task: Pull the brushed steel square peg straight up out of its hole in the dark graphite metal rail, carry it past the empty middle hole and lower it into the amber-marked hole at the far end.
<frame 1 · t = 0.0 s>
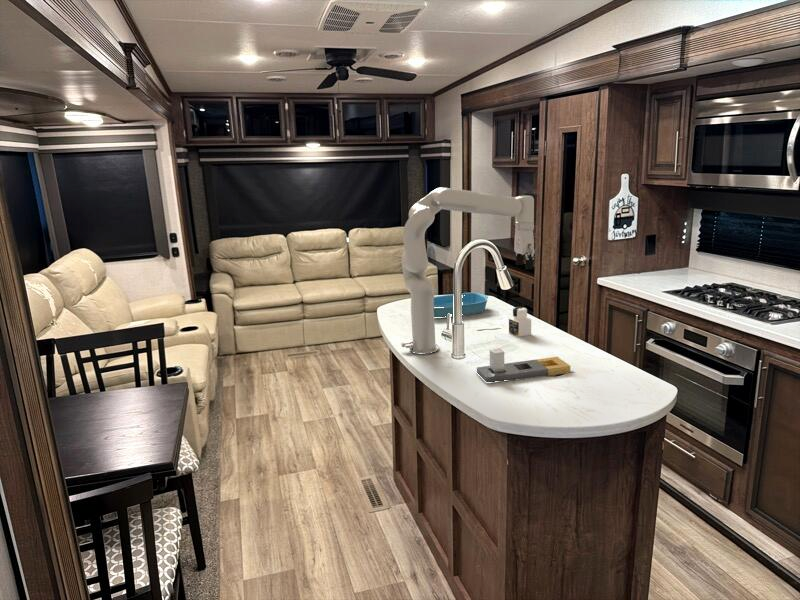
hand: (524, 266, 230), 31 cm above the worktop, tool pointing down, fingers open, 9 cm apart
casserole dish: (453, 312, 282), on the worktop
rail: (523, 373, 199), on the worktop
steel peg: (497, 376, 197), resting in rail
medicine bottle: (520, 334, 242), on the worktop
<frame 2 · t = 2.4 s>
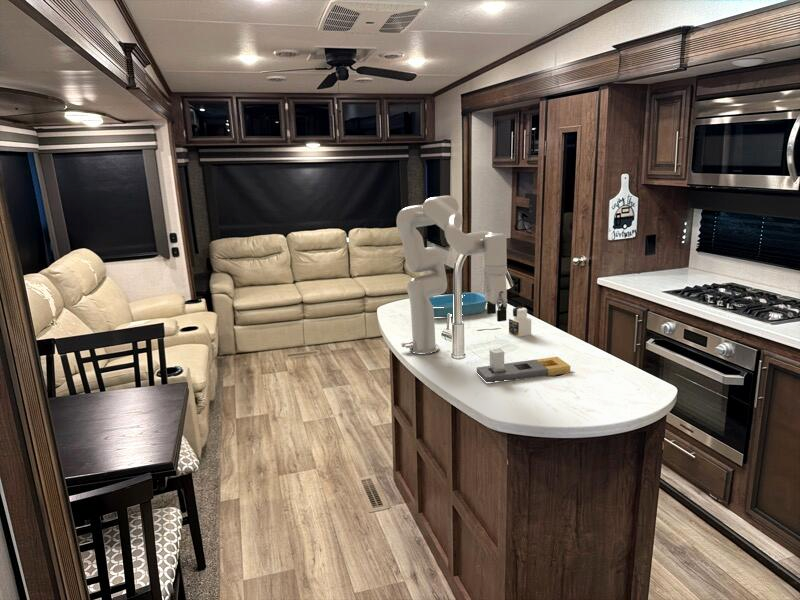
hand: (496, 317, 192), 22 cm above the worktop, tool pointing down, fingers open, 9 cm apart
nothing on the worktop moved.
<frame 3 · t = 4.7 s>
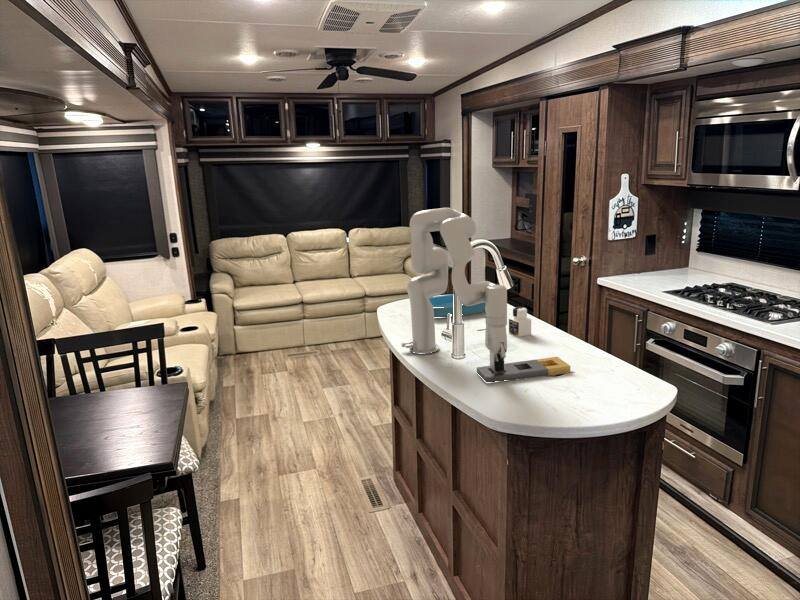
hand: (497, 368, 197), 3 cm above the worktop, tool pointing down, fingers closed on steel peg, 4 cm apart
steel peg: (497, 376, 197), resting in rail, touching gripper
everything else where it was.
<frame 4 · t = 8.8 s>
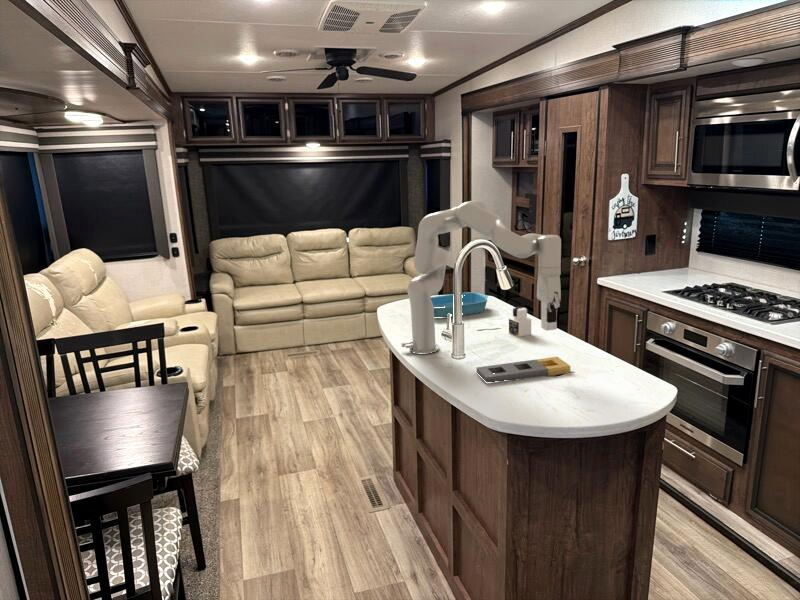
hand: (548, 319, 196), 19 cm above the worktop, tool pointing down, fingers closed on steel peg, 4 cm apart
steel peg: (548, 328, 197), point 16 cm above the worktop, touching gripper
everything else where it was.
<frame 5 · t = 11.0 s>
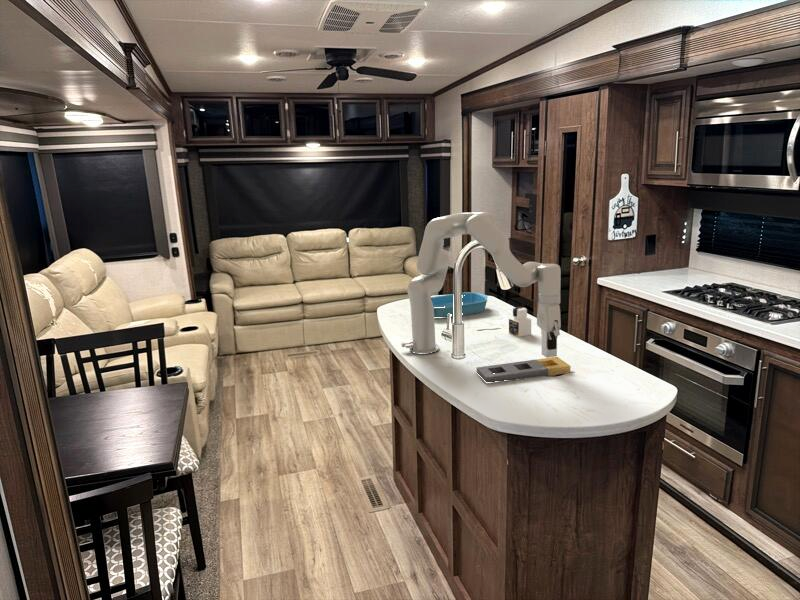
hand: (549, 346, 199), 9 cm above the worktop, tool pointing down, fingers closed on steel peg, 4 cm apart
steel peg: (549, 355, 199), point 6 cm above the worktop, touching gripper
everything else where it was.
when the fingers open (5 cm above the worktop, at t = 12.7 s): steel peg drops 1 cm, resting in rail.
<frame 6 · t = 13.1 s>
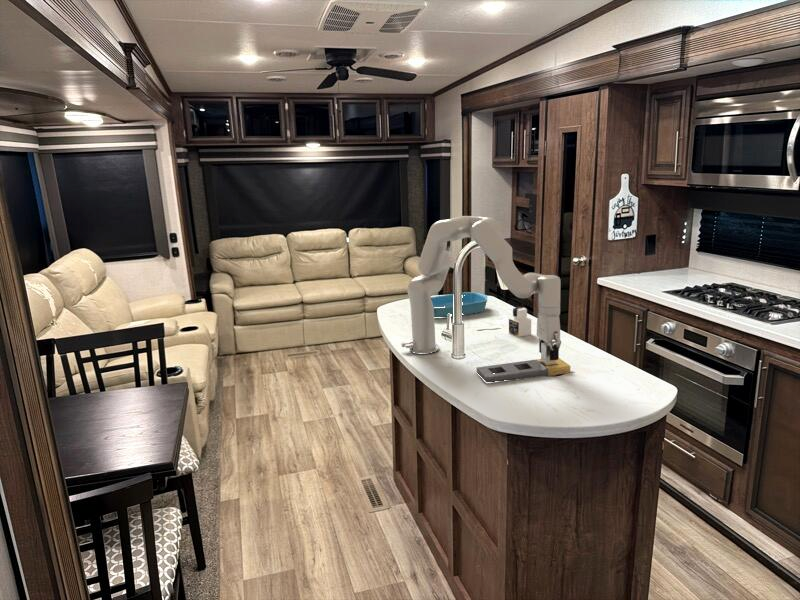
hand: (548, 355, 200), 5 cm above the worktop, tool pointing down, fingers open, 7 cm apart
steel peg: (548, 369, 201), resting in rail
everything else where it was.
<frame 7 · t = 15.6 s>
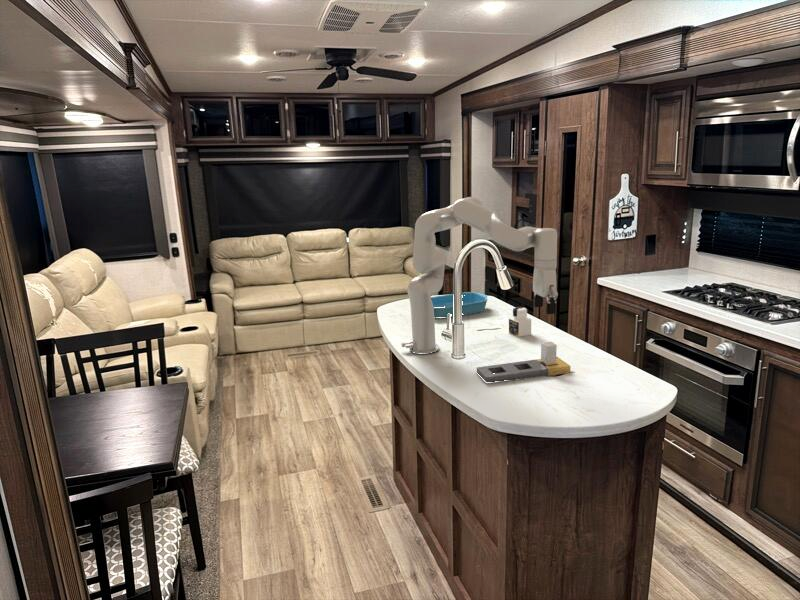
hand: (544, 310, 196), 22 cm above the worktop, tool pointing down, fingers open, 9 cm apart
nothing on the worktop moved.
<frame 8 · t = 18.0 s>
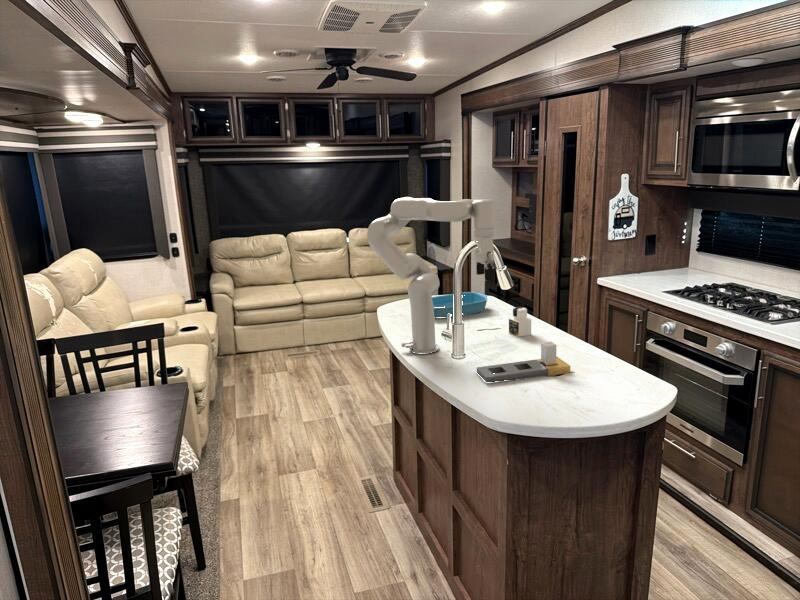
hand: (484, 276, 211), 32 cm above the worktop, tool pointing down, fingers open, 9 cm apart
nothing on the worktop moved.
at the end: steel peg 0.0 cm from the target spot on the rail, point 0.0 cm above the rail's base; steel peg tilted 0°; the gripper is holding nothing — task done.
